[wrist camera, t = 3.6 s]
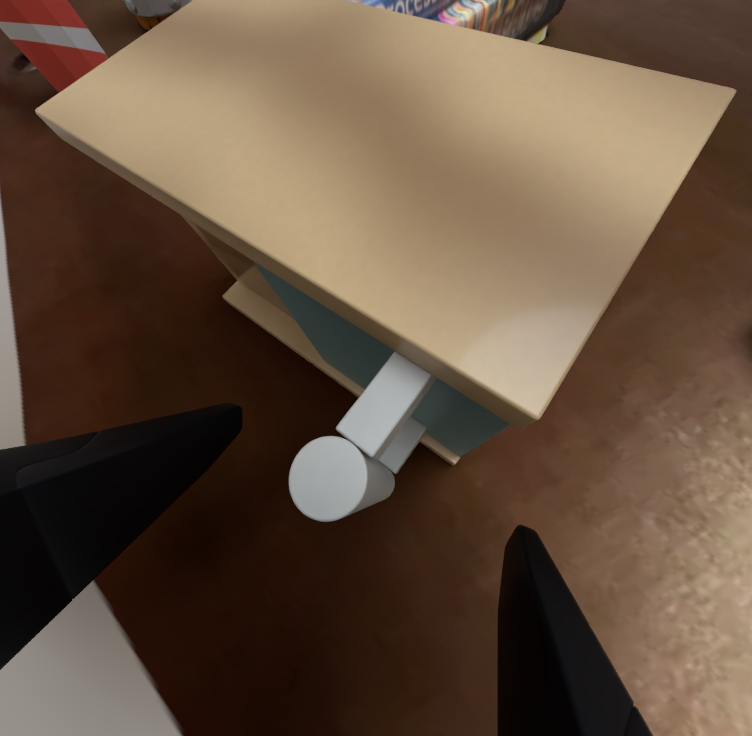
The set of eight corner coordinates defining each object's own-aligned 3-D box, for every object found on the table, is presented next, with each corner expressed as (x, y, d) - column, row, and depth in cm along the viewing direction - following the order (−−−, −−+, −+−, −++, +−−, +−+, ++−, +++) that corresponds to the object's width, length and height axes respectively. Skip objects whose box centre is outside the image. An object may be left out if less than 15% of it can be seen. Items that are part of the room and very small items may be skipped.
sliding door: (412, 532, 14) (408, 613, 5) (275, 418, 17) (116, 339, 8) (469, 444, 15) (550, 382, 6) (332, 350, 18) (249, 212, 9)
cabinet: (453, 466, 16) (539, 421, 5) (229, 304, 22) (32, 110, 10) (541, 331, 18) (740, 87, 7) (316, 214, 24) (230, -27, 13)
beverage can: (132, 72, 35) (-1, -124, 23) (104, 109, 33) (-57, -87, 21) (88, 73, 36) (-59, -114, 25) (59, 109, 34) (-117, -77, 22)
